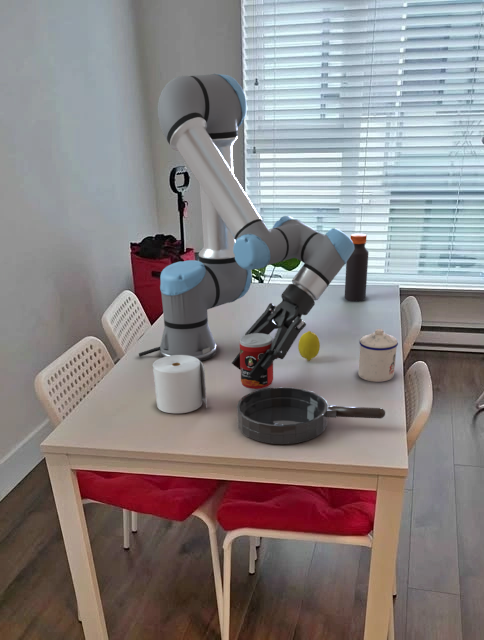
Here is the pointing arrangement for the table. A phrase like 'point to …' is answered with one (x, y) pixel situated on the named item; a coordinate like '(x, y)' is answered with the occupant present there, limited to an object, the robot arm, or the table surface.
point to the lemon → (309, 345)
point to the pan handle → (354, 412)
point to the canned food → (254, 359)
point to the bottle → (357, 270)
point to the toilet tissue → (179, 383)
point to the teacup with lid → (377, 356)
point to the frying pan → (282, 415)
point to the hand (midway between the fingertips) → (244, 372)
